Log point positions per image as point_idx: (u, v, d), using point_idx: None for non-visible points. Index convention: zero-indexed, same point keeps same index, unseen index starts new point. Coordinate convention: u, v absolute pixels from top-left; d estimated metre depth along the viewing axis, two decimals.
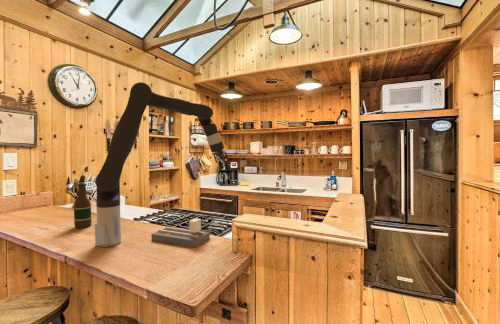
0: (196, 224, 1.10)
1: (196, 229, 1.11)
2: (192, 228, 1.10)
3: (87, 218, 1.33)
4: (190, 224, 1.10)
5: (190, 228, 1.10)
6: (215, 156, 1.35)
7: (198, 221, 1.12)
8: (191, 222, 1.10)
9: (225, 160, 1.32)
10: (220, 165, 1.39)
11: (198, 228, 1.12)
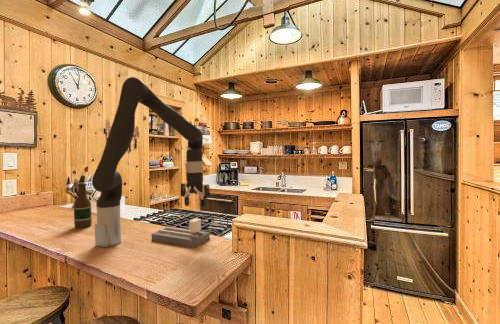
0: (196, 224, 1.10)
1: (196, 229, 1.11)
2: (192, 228, 1.10)
3: (87, 218, 1.33)
4: (190, 224, 1.10)
5: (190, 228, 1.10)
6: (188, 188, 1.10)
7: (198, 221, 1.12)
8: (191, 222, 1.10)
9: None
10: (187, 200, 1.13)
11: (198, 228, 1.12)
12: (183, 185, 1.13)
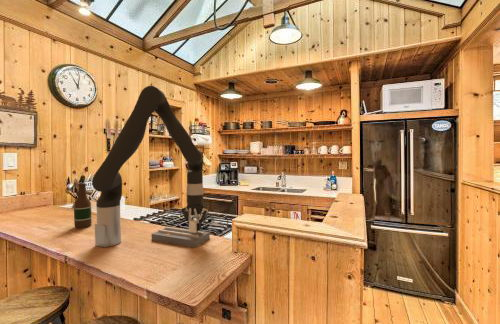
0: (196, 224, 1.10)
1: (196, 229, 1.11)
2: (192, 228, 1.10)
3: (87, 218, 1.33)
4: (190, 224, 1.10)
5: (190, 228, 1.10)
6: (189, 210, 1.11)
7: None
8: (191, 222, 1.10)
9: None
10: None
11: None
12: (184, 209, 1.13)
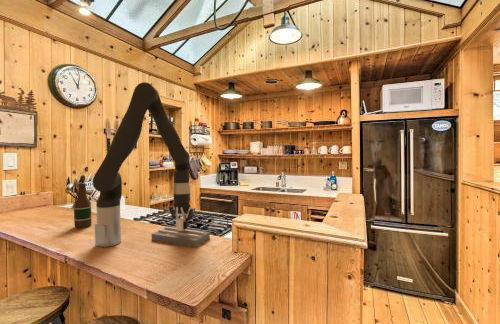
0: None
1: None
2: (179, 226, 1.12)
3: (87, 218, 1.33)
4: (177, 222, 1.13)
5: (177, 226, 1.13)
6: (176, 209, 1.13)
7: None
8: (178, 220, 1.12)
9: None
10: None
11: None
12: (171, 208, 1.16)
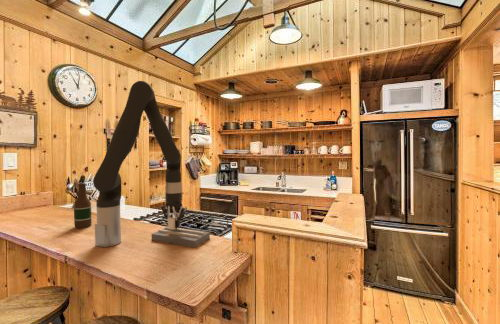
0: (174, 221, 1.15)
1: (174, 226, 1.15)
2: (170, 225, 1.14)
3: (87, 218, 1.33)
4: (169, 221, 1.14)
5: (169, 225, 1.14)
6: (168, 208, 1.15)
7: None
8: (170, 219, 1.14)
9: None
10: None
11: None
12: (163, 207, 1.17)
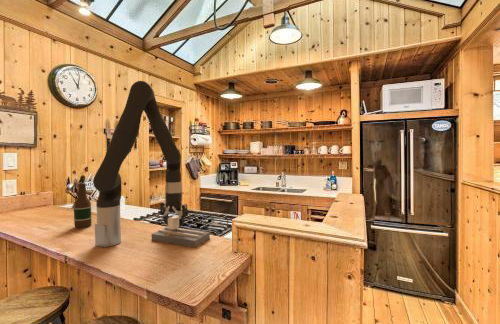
0: (174, 221, 1.15)
1: (174, 226, 1.15)
2: (170, 225, 1.14)
3: (87, 218, 1.33)
4: (168, 221, 1.14)
5: (168, 225, 1.15)
6: (167, 207, 1.15)
7: (177, 218, 1.16)
8: (169, 219, 1.14)
9: None
10: (166, 219, 1.18)
11: (177, 225, 1.16)
12: (163, 204, 1.17)
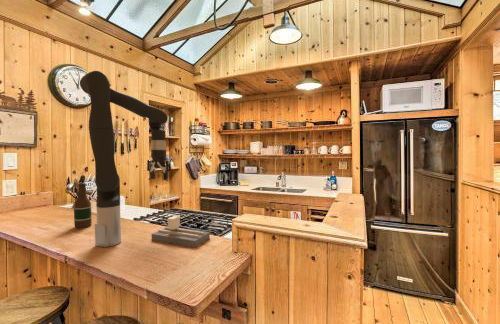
0: (174, 221, 1.15)
1: (174, 226, 1.15)
2: (170, 225, 1.14)
3: (87, 218, 1.33)
4: (168, 221, 1.14)
5: (168, 225, 1.15)
6: (153, 163, 1.28)
7: (177, 218, 1.16)
8: (169, 219, 1.14)
9: None
10: (152, 174, 1.31)
11: (177, 225, 1.16)
12: (149, 161, 1.31)
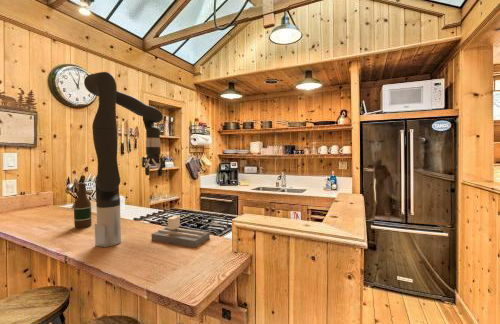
0: (174, 221, 1.15)
1: (174, 226, 1.15)
2: (170, 225, 1.14)
3: (87, 218, 1.33)
4: (168, 221, 1.14)
5: (168, 225, 1.15)
6: (148, 160, 1.34)
7: (177, 218, 1.16)
8: (169, 219, 1.14)
9: None
10: (147, 170, 1.36)
11: (177, 225, 1.16)
12: (144, 158, 1.36)
